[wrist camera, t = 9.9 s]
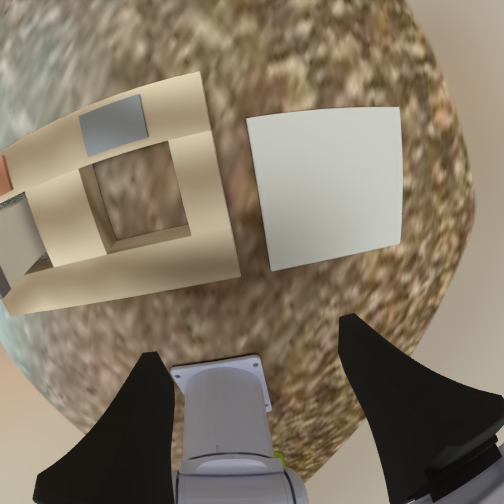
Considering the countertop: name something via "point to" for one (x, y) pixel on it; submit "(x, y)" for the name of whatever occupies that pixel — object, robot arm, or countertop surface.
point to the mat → (328, 182)
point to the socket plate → (93, 210)
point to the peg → (17, 243)
